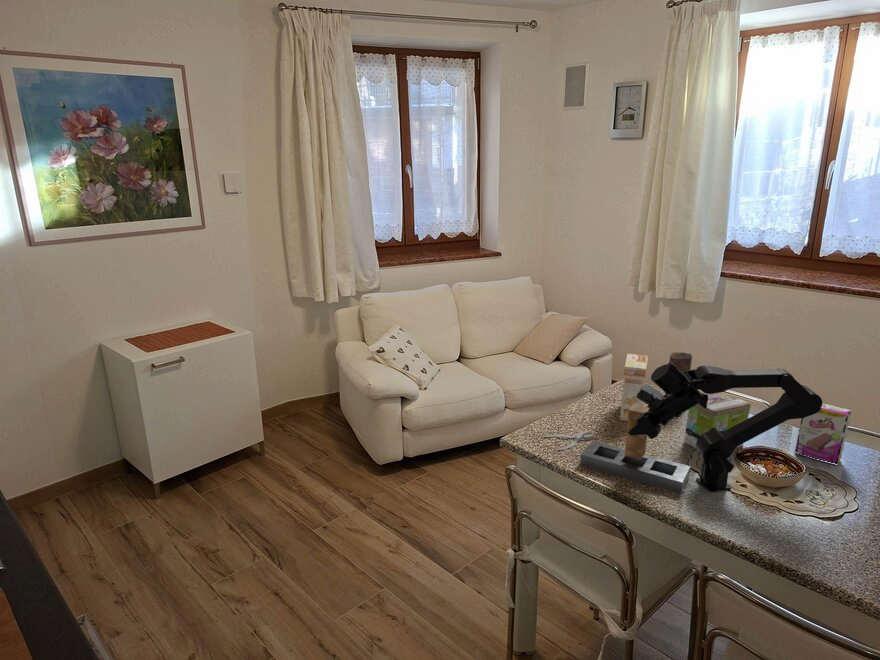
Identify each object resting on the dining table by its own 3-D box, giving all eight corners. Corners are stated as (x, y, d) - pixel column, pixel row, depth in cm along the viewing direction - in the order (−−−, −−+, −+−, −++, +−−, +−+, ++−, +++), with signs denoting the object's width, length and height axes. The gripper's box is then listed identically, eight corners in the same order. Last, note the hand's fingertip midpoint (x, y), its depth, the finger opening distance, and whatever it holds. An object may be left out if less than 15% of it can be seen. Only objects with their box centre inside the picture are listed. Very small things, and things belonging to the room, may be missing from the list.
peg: (645, 453, 167) (650, 407, 163) (640, 459, 163) (645, 413, 159) (629, 449, 169) (633, 404, 165) (624, 455, 165) (628, 409, 161)
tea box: (708, 456, 175) (715, 411, 171) (683, 442, 184) (688, 398, 180) (744, 446, 181) (751, 402, 177) (717, 433, 190) (723, 390, 186)
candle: (683, 412, 205) (689, 358, 199) (661, 408, 209) (667, 354, 203) (687, 405, 211) (694, 352, 206) (666, 400, 215) (672, 349, 209)
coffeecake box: (641, 423, 197) (646, 369, 192) (619, 420, 200) (623, 366, 194) (643, 406, 210) (648, 355, 205) (622, 403, 213) (627, 352, 207)
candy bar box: (794, 454, 176) (803, 404, 172) (798, 448, 180) (807, 399, 175) (837, 467, 169) (848, 414, 164) (841, 460, 173) (852, 409, 168)
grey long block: (689, 477, 164) (690, 466, 163) (680, 494, 156) (682, 482, 155) (591, 451, 179) (592, 440, 178) (579, 465, 171) (580, 454, 170)
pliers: (541, 433, 188) (582, 426, 192) (541, 438, 188) (582, 431, 193) (557, 447, 179) (599, 439, 183) (557, 452, 179) (599, 444, 184)
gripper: (666, 368, 165) (623, 396, 174) (648, 389, 150) (602, 418, 159) (692, 400, 163) (648, 427, 172) (677, 425, 148) (629, 452, 157)
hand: (632, 430), depth 165 cm, fingers closed on peg, 4 cm apart
